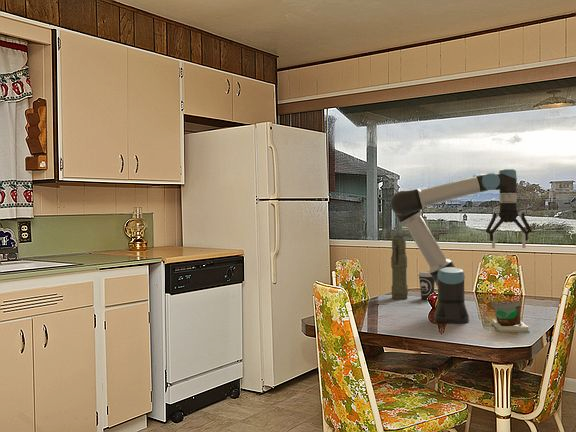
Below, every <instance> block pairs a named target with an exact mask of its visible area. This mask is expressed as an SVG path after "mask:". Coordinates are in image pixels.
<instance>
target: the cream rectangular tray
mask: <svg viewBox="0 0 576 432" xmlns="http://www.w3.org/2000/svg"><path fill="white" fill-rule="evenodd" d="M490 324H491V325H492V326H493V327H494V329H496V331H498V332H499V333H503V332H504V333H508V332H510V333H530V329H529V326H528V325H526V324H525V323H524V322H523V321H522V320H521V323H520V324H518V325H514V326H501V325H500V324H499V323H498V322H497V319H491V321H490Z"/></svg>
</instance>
